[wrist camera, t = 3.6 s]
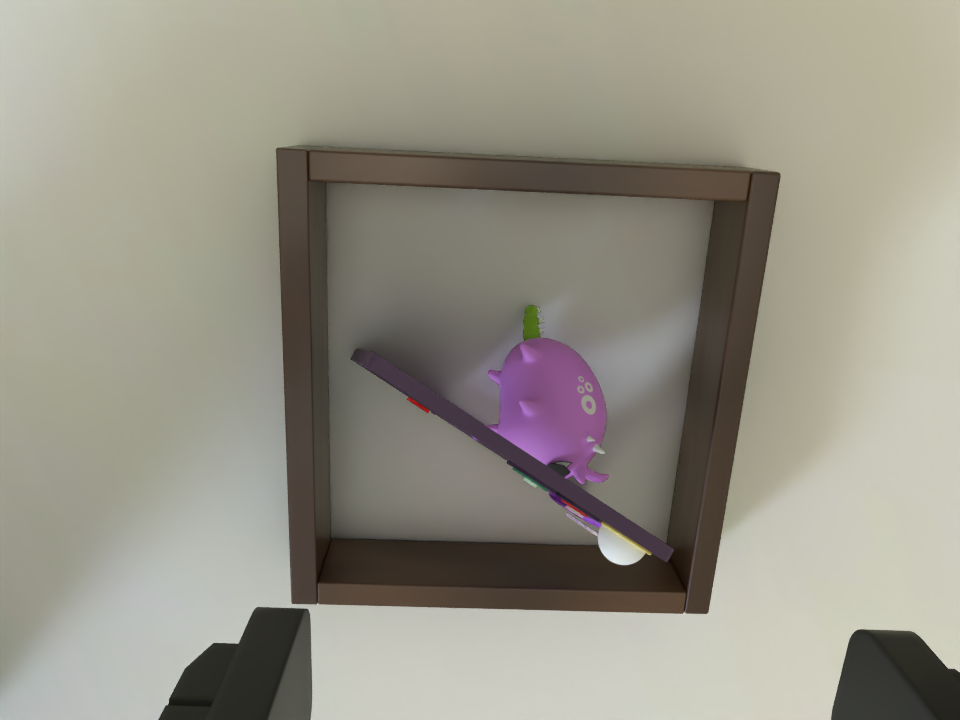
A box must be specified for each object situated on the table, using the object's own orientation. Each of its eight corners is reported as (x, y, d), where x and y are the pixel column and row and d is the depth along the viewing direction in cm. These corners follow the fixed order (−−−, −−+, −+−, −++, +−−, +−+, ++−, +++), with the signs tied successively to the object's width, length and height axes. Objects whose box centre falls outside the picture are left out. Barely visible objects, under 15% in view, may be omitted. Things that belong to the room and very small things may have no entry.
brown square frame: (307, 557, 25) (290, 604, 23) (297, 145, 21) (275, 147, 19) (685, 568, 26) (709, 615, 23) (746, 167, 22) (782, 172, 19)
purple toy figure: (344, 392, 16) (655, 591, 18) (471, 202, 17) (761, 412, 19) (336, 378, 23) (564, 525, 25) (427, 241, 24) (645, 394, 25)
